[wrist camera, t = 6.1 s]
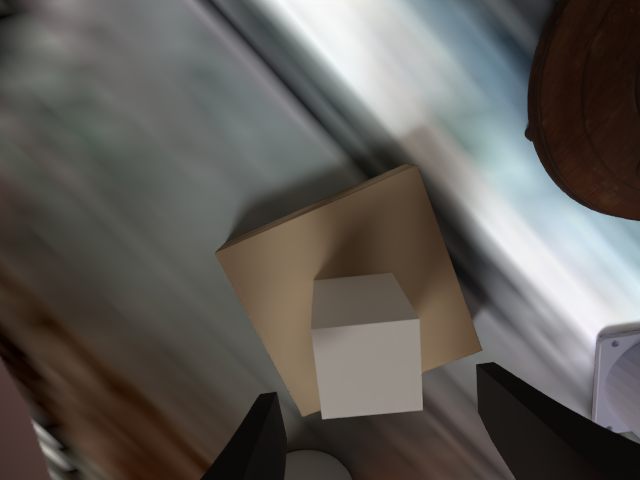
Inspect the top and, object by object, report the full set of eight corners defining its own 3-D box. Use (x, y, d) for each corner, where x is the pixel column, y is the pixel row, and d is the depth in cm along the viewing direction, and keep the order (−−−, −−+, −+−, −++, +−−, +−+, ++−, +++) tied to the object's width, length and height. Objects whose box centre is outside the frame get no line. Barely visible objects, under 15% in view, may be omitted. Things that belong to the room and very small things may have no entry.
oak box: (403, 163, 21) (417, 165, 18) (461, 325, 24) (482, 350, 21) (228, 239, 22) (214, 253, 19) (304, 385, 25) (302, 416, 22)
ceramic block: (391, 272, 19) (419, 318, 14) (395, 342, 20) (422, 410, 15) (313, 280, 19) (310, 329, 14) (321, 349, 20) (322, 419, 15)
